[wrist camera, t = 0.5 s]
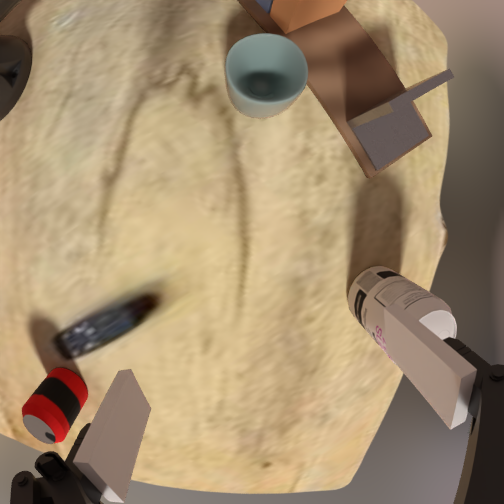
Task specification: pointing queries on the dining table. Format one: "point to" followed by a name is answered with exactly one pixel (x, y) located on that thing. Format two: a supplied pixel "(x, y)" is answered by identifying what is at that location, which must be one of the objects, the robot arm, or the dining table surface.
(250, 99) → the cup
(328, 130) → the dining table surface
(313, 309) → the dining table surface
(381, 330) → the supplement can
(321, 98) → the shelf
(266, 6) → the book navy
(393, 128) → the bookend
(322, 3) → the book terracotta
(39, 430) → the soda can
